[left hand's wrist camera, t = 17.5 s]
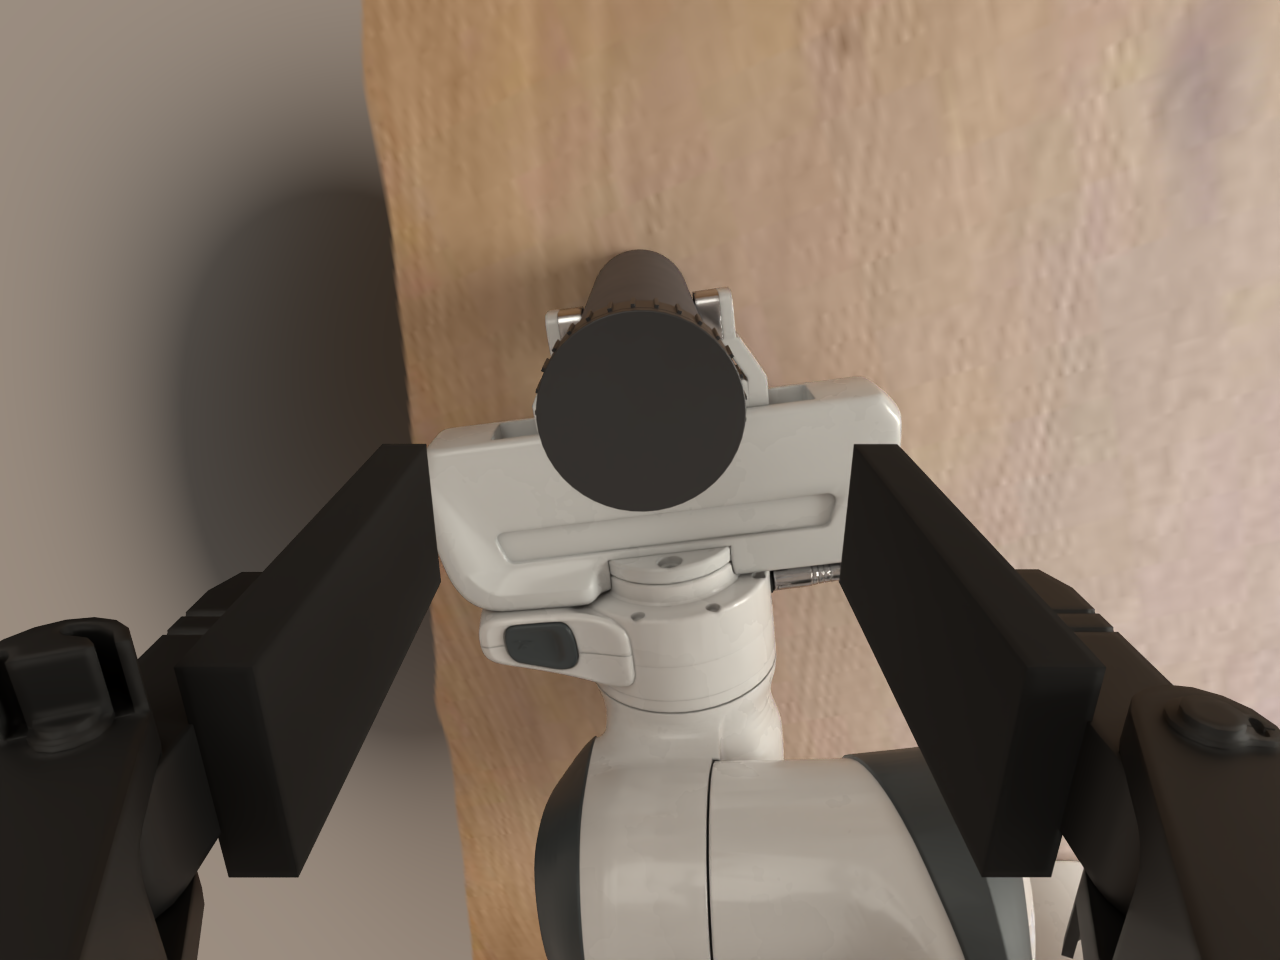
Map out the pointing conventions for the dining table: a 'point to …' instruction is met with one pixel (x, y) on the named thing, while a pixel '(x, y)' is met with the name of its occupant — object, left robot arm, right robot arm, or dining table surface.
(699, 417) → the lid
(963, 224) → the dining table surface
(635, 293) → the dark grey cylinder
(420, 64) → the dining table surface
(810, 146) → the dining table surface
